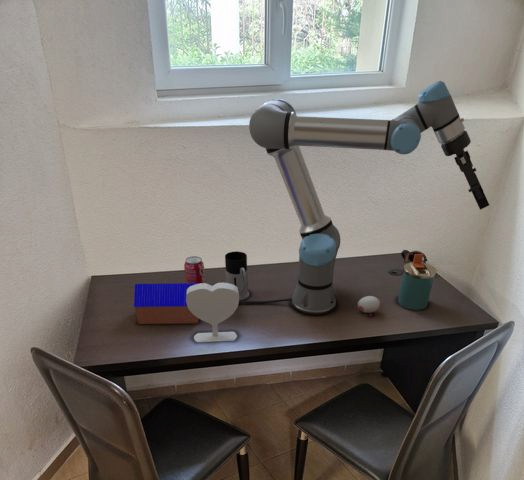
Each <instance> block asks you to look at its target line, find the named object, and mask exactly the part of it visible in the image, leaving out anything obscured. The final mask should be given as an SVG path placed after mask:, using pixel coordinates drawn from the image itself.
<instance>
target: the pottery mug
mask: <svg viewBox="0 0 524 480" xmlns="http://www.w3.org/2000/svg"><path fill="white" fill-rule="evenodd" d="M400 254H401V257H402V259H403V261H404V264H407V263H410V262H413V260H414V255H415V254H423V259H422V261H423V262H424V263H426V264H427V262H428V258H427V256H426V254H425V253H423V252H422V251H420V250H412V251H409V250H408V249H402V251H401V253H400Z"/></svg>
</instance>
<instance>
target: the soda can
mask: <svg viewBox="0 0 524 480" xmlns="http://www.w3.org/2000/svg"><path fill="white" fill-rule="evenodd" d="M183 268H184V278H185V283H198V284H200V283H206V272H205V271H206V270H205V264H204V261H203V259H202V258H201V257H200V256H197V255H191V256H188V257H186V258H185V262H184V264H183Z"/></svg>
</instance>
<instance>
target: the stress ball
mask: <svg viewBox="0 0 524 480" xmlns="http://www.w3.org/2000/svg"><path fill="white" fill-rule="evenodd" d="M380 306H381V302H380V299H379V298H377V297H376V296H372V295H367V296H363V297H361V298H360V299H358V302H357V308H358V310H359V311H360V312H362V313H365V314H369V317H371V316H373V314H372V313H374V312H376V311H377V310H378V309H379V308H380Z"/></svg>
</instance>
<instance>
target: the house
mask: <svg viewBox="0 0 524 480" xmlns="http://www.w3.org/2000/svg"><path fill="white" fill-rule="evenodd" d="M196 284H198V283H186V282H185V283H183V282H181V283H180V282H179V283H135V284H134V296H133V297H134V298H133V299H134V300H133V302H134V303H133V307H134V308H135V313H136V318H137V323H138V325H161V324H163V325H164V324H165V325H167V324H168V325H169V324H172V325H173V324H199V320H200V319H199V318H198V317H196V316H194V315H193V314H192V312H191V311H190V310H189V309H188V306H187V303H186V294H187V289H188V288H189V287H190V286H193V285H196Z"/></svg>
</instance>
